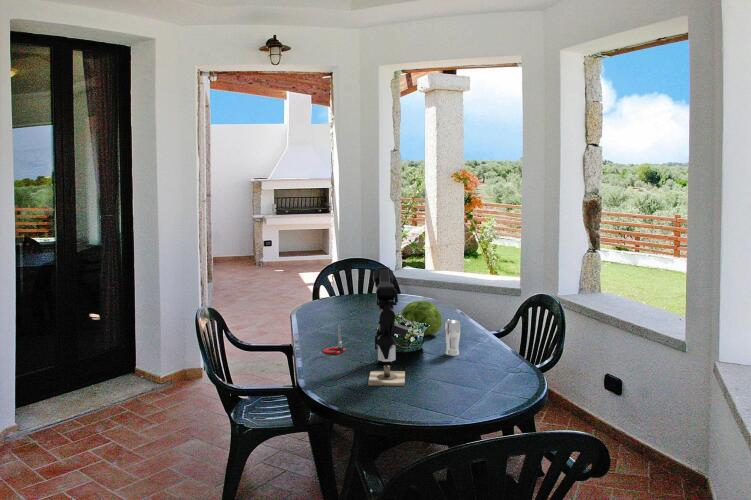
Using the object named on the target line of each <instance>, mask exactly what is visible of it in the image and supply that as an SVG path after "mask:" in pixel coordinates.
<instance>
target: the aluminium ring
mask: <svg viewBox="0 0 751 500" xmlns="http://www.w3.org/2000/svg"><path fill="white" fill-rule="evenodd" d="M396 355H397V354H396V348H395V345H392V346H391V347H390V350H389V355H388V359H385V358H384V356H383V353H382V351H381V349H380V347H379V345H378V349H377V359H378V360H380V361H383V362H391V361H392V362H393V361H396V359H397V358H396V357H397V356H396Z"/></svg>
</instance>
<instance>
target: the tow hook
mask: <svg viewBox="0 0 751 500" xmlns="http://www.w3.org/2000/svg"><path fill="white" fill-rule="evenodd" d="M337 327H338V328H337V334H338V337H337V338H338V341H337V342H338V345H337V346H338V347H335V346H334V347H328V348H325V349H324V350H323V353H324V354H329V355H333V354H334V355H339V354H342V353H344V352H346V350H347V349H346V348H344V347H343V341H342V333H341V325H340V324H339V325H337Z"/></svg>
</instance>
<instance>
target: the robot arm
mask: <svg viewBox="0 0 751 500" xmlns="http://www.w3.org/2000/svg"><path fill="white" fill-rule="evenodd" d="M372 273H373V275H372V277H373V278H372V279H373V283H374V286H375V288H376V289H375V296H376V299H375V300H376V306H378V327H377V329H376V331H375V335H374V339H373V340H374V350H378V345H379V347H380V349H381V351H382V353H383V356H384V358H385V359H388V355H389V350H390V347H391V346H392V345H395V349H397V348H396V347H397V346H396V345H397V343H396V341H397V339H396V337H395V335H398V336H401V337H402V338H406V337H407V334H408V327H407V326H406V325H405V322H400V323H398V322H396V321H395V320H396V313H395V310H394V306H397V303H398V302H399V301H398V300H399V297H398V295H399V294H398V291H397V289H396V288H395V286H394V283H393V282H394V271H393V270H392V269H390V266H379V267H377V269H375V270H373V272H372ZM392 364H393V361H391V362H383V361H380V360H378V358H376V365H392Z"/></svg>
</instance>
